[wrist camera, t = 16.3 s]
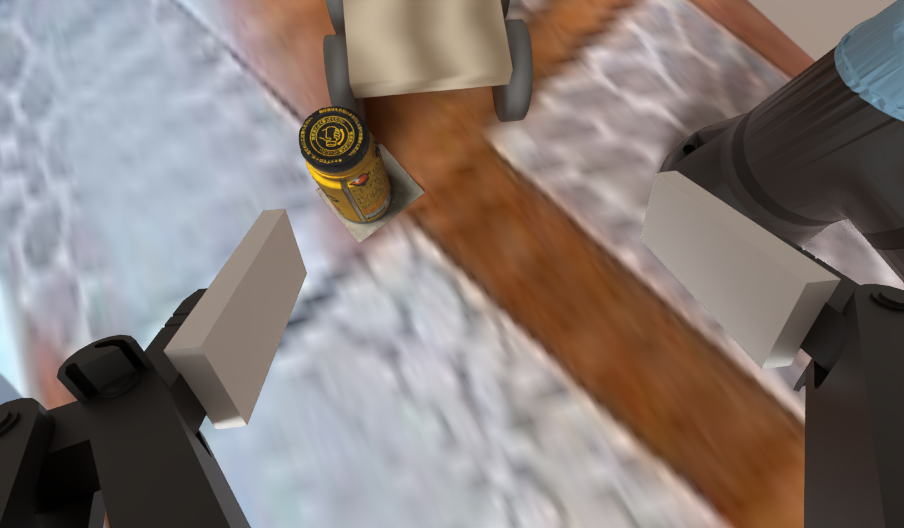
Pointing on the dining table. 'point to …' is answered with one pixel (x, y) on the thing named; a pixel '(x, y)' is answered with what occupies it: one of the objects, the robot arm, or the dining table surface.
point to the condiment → (354, 171)
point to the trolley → (427, 51)
